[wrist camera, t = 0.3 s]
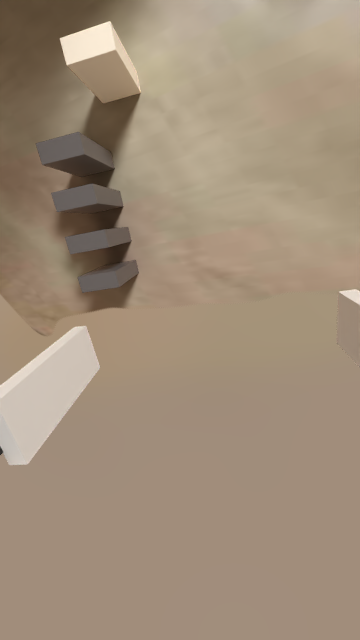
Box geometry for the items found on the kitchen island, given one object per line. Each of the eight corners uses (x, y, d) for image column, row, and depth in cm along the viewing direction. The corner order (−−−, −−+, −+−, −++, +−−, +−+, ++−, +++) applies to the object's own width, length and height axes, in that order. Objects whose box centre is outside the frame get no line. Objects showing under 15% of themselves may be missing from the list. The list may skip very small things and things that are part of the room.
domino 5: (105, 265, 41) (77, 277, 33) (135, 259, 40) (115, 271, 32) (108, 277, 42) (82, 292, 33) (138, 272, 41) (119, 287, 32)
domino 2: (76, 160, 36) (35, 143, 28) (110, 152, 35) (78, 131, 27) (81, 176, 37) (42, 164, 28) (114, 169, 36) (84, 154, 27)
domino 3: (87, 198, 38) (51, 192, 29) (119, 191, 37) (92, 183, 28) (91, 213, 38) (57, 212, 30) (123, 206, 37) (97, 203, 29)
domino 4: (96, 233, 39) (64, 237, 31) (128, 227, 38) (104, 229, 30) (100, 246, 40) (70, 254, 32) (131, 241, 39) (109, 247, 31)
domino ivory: (99, 84, 33) (59, 38, 24) (137, 72, 32) (110, 21, 23) (103, 103, 33) (66, 65, 25) (141, 92, 32) (115, 49, 24)
